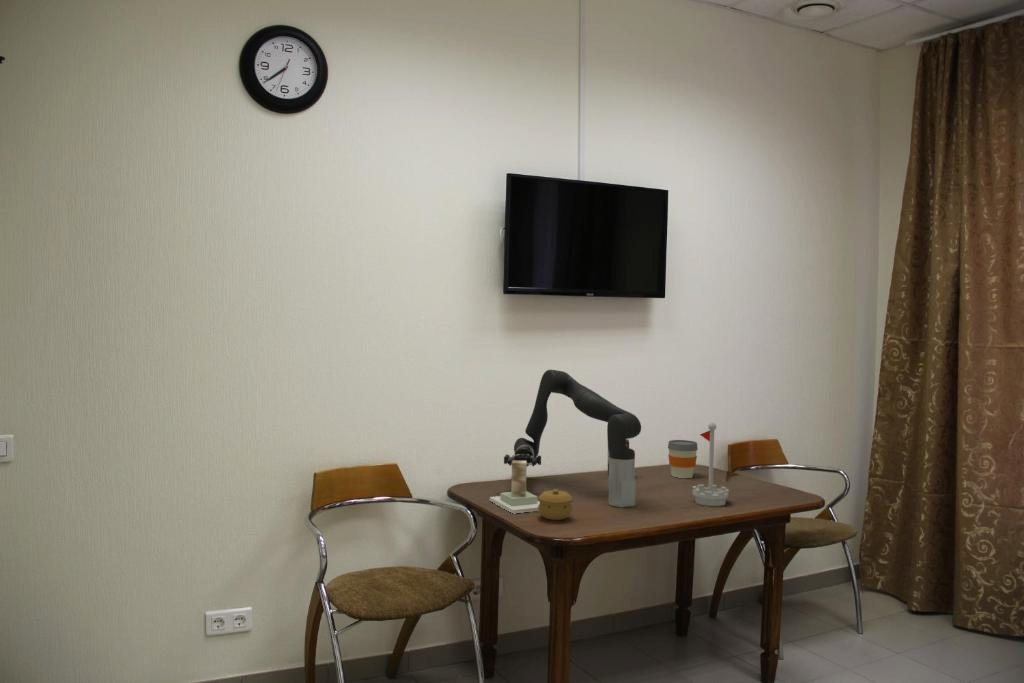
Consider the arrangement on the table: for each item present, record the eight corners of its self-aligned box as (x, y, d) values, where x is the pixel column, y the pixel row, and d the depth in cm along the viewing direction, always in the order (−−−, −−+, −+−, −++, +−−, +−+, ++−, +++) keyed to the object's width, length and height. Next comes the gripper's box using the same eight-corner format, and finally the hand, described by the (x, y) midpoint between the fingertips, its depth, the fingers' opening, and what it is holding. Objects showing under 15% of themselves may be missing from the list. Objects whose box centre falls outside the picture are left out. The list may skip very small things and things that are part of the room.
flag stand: (734, 502, 287) (737, 423, 286) (716, 508, 278) (719, 426, 277) (703, 496, 296) (706, 419, 295) (685, 502, 287) (687, 422, 286)
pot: (574, 523, 256) (575, 493, 255) (539, 523, 255) (540, 493, 254) (569, 513, 267) (570, 485, 267) (535, 514, 266) (536, 485, 266)
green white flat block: (548, 510, 271) (549, 499, 271) (513, 514, 265) (513, 502, 265) (523, 497, 289) (523, 487, 289) (489, 501, 283) (489, 490, 283)
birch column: (526, 493, 279) (526, 460, 278) (525, 496, 274) (525, 463, 274) (512, 493, 279) (512, 460, 279) (511, 496, 274) (511, 462, 274)
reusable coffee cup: (663, 473, 338) (664, 439, 337) (691, 473, 339) (691, 439, 339) (672, 480, 325) (673, 444, 325) (701, 479, 327) (702, 444, 326)
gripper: (506, 445, 304) (502, 452, 288) (542, 446, 303) (540, 453, 287) (506, 464, 305) (502, 472, 288) (542, 465, 304) (540, 473, 287)
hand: (521, 463), depth 288 cm, fingers open, 8 cm apart
